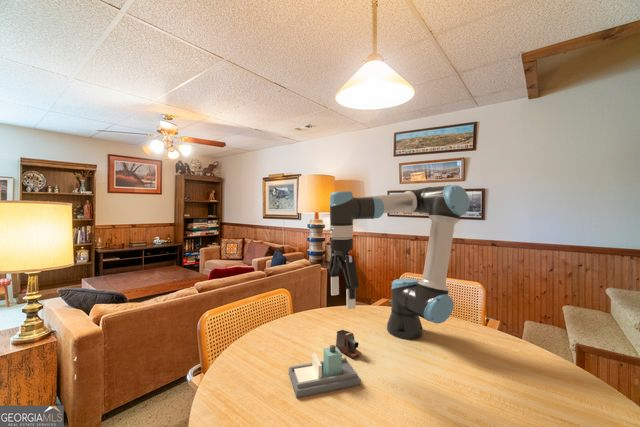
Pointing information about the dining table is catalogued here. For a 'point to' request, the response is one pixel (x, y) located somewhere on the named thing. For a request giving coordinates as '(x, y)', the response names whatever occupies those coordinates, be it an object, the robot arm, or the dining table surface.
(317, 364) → the shutter
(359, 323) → the dining table surface
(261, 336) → the dining table surface
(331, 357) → the teal bottle
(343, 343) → the electronic device
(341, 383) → the socket board
